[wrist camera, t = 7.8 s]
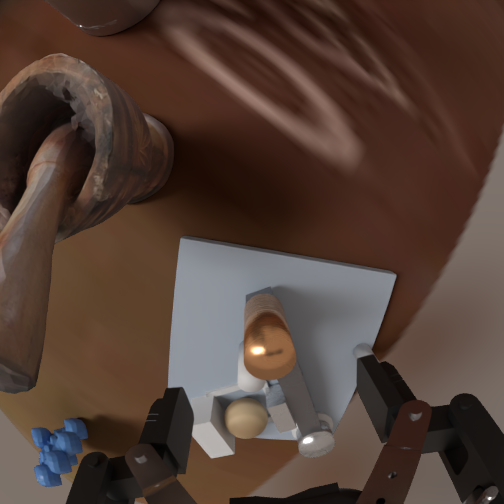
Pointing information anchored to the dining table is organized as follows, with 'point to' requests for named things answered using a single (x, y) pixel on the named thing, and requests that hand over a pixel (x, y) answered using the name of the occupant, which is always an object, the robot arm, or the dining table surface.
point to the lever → (282, 373)
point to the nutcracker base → (299, 322)
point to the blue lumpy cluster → (58, 450)
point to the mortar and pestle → (62, 186)
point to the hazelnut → (245, 418)
